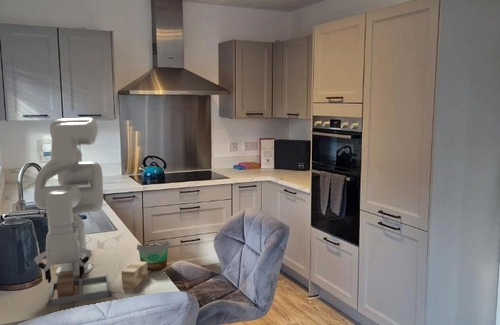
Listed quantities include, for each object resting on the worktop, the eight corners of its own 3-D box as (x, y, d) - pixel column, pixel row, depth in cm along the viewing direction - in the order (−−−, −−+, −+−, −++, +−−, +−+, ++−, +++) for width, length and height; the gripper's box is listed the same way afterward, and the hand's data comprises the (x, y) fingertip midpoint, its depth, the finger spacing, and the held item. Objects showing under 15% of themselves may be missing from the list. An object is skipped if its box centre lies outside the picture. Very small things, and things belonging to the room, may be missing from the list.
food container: (140, 275, 164) (139, 248, 163) (137, 269, 170) (136, 243, 168) (174, 269, 169) (172, 243, 167) (170, 264, 174) (168, 239, 173)
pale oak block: (136, 277, 162) (135, 261, 161) (148, 278, 161) (147, 261, 160) (122, 288, 153) (121, 271, 152) (134, 289, 152) (133, 272, 151)
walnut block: (59, 289, 152) (58, 272, 151) (74, 287, 153) (72, 270, 153) (58, 301, 143) (56, 282, 142) (73, 298, 144) (72, 280, 143)
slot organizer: (52, 288, 153) (51, 283, 153) (108, 280, 159) (108, 275, 159) (48, 306, 140) (48, 300, 139) (110, 296, 146) (110, 290, 145)
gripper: (89, 222, 152) (93, 270, 154) (33, 228, 146) (37, 278, 149) (89, 228, 145) (93, 279, 147) (30, 235, 139) (35, 287, 142)
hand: (65, 278), depth 148 cm, fingers open, 9 cm apart
